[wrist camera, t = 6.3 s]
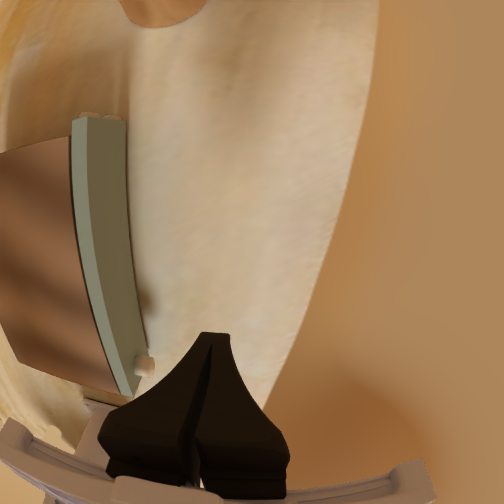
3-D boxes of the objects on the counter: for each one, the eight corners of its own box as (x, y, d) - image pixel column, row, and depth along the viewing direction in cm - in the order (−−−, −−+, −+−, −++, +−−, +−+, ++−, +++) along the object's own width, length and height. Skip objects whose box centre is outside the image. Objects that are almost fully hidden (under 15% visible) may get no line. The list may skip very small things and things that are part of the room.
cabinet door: (162, 360, 21) (148, 400, 17) (139, 356, 21) (121, 394, 17) (143, 113, 14) (108, 105, 10) (113, 116, 14) (72, 112, 10)
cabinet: (138, 354, 22) (120, 395, 17) (42, 333, 22) (18, 361, 17) (112, 135, 15) (68, 135, 11) (5, 156, 15) (-35, 166, 10)
